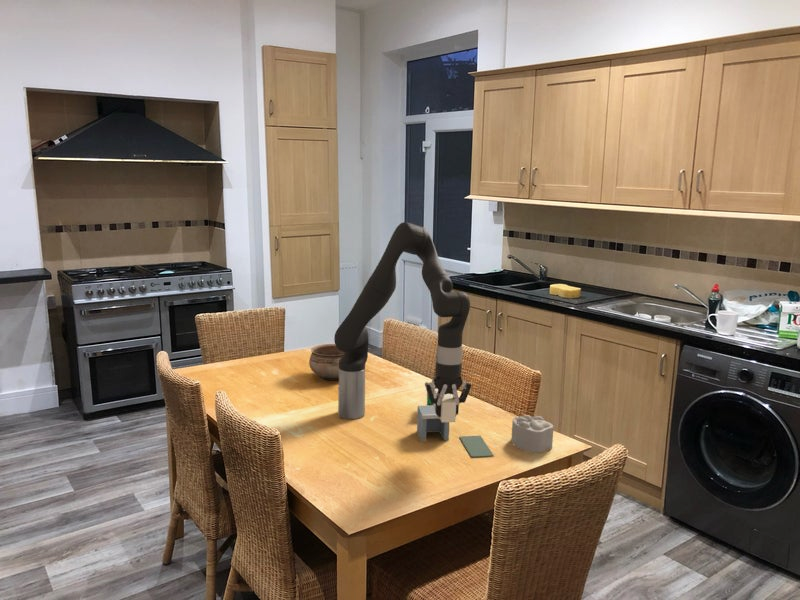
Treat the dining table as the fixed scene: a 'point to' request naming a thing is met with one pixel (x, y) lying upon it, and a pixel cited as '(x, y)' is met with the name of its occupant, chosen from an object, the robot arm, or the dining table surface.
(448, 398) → the tall cream rectangular prism
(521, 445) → the lumpy-topped squat cylinder
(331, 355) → the cooking pot
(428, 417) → the dispenser sleeve
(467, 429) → the dining table surface
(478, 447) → the rubber mat
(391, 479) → the dining table surface
